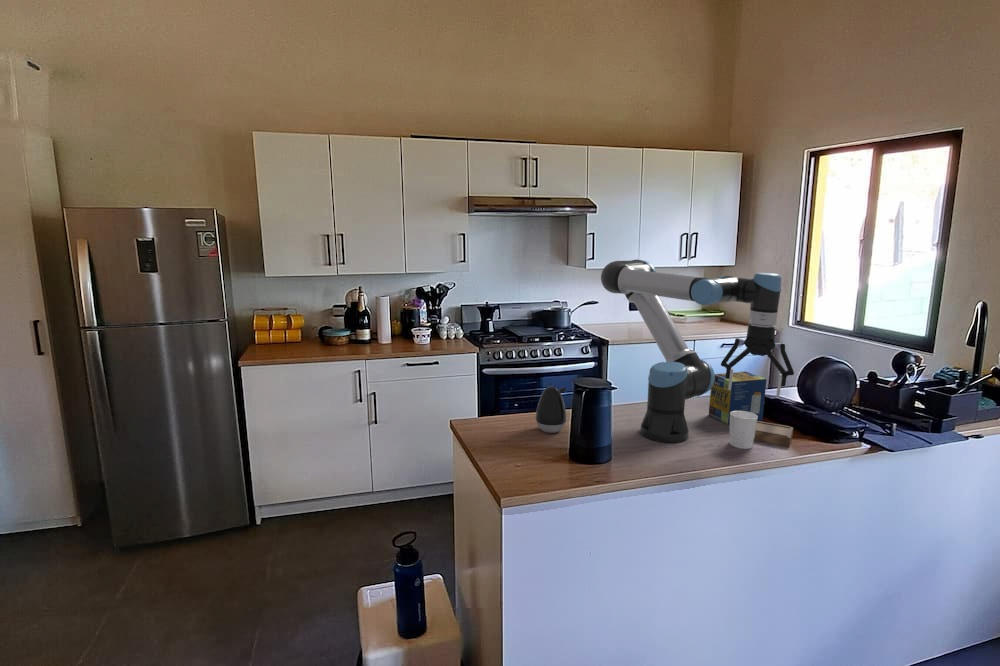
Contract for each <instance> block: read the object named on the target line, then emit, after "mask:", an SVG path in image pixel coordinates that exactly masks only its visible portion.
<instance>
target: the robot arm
mask: <svg viewBox="0 0 1000 666" xmlns="http://www.w3.org/2000/svg"><path fill="white" fill-rule="evenodd" d="M600 281H601V284H602V287H603V288H604V289H605V290H606V291H607V292H609V293H611V294H623V295H624V296H625V298H626V299H627V301H628V302H629V303H631V304H634V305H635V307H636V308H637V311H638V313H639V314H640V317H641V318H642V320H643V321H644V323H645V325H646V327H647V328H648V330H649V333H650V334H651V336H652V337H653V338H652V339H654V341H655V343H656V345H657V348H658V349H659V350H660V352H661V354H662V356H663V357H664V359H665V362H664V361H661V362H658V363H655V364H653V365H652V366H650V369H649V372H648V373H649V374H648V379H647V380H648V385H647V387H648V388H647V406H646V407H647V408H646V412H645V414H644V417H643V419H642V421H641V424H640V431H639V432H640V434H641V435H642V436H643V437H644V438H647V439H649V440H652V441H656V442H662V443H663V442H664V443H679V442H684V441H687V439H688V438H689V428H688V427H689V426H688V424H687V420H686V416H685V407H686V406H685V404H686V400H688V399H692V398H695V397H700V396H702V395H704V394H706V393H708V392H709V391H711V388H712V386H713V384H714V381H715V374H716V373H715V370H714V368H713V367H712V365H710V363H709V362H708V361H705V360H703V359H701V358H700V357H699V355H698V353H697V352H696V351H694V350H691V349H690V348H689V347H688V345H687V344H686V341H685V340H684V338H683V336H682V334H681V333H680V331H679V330H678V328H677V326H676V323H675V322H674V320H673V319H672V317H671V316H670V314H669V312H668V309H666V307H665V305H664V303H663V301H662V299H661V298H669V299H677V300H681V301H682V300H683V301H690V302H694V303H697V304H698V305H701V306H712V305H716V304H723V303H731V302H736V303H737V302H738V303H744V304H750V309H749V317H748V323H749V324H748V325H747V330H746V331H747V332H746V338H745V339H742V338H740V337H738V336H737V337H736V338H735V340H734V344H733V345H732V346H731V348H730V350H729V351H728V352H727V354H726V355H725V356H724V358H723V359H722V361H721V362H720V366H721V367H724V368H725V369H726V370H725V373H726V379H729V386H728V390H731V386H732V377H733V373H734V368H733V367H735V366H736V365H737V364H738V363H739V362H741V361H742V360H743V359H744V358H746V356H748V355H749V354H751V355H752V356H761V357H765V356H767V357H768V358H769V360H770V361H771V362H772V364H774V366H775V368H777V370H778V371H779V373H780V374H778V382H777V389H776V390H777V391H776V398H780V396H781V395H780V394H781V388H782V387H785V386H786V382H787V377H788V376H794V374H795V371H794V369H793V366H792V364H791V362H790V359H789V356H788V354H787V352H786V343H785V342H775V336H776V327H775V326H776V325H777V319H778V314H779V313H778V312H779V304H780V298H781V292H782V276H781V274H778V273H771V272H756V273H755V274H754V275H753V277H752V278H748V277H739V276H732V275H718V277H716V278H710V277H709V278H708V277H702V276H701V277H700V276H694V275H693V276H691V275H683V274H674V273H665V272H658V271H657V270H656V268H655V267H654V265H652V264H651V262H649V261H646V260H642V259H631V260H614V261H611V262H609V263H608V264H606V265H605V266H604V267H603V269H602V270H601V274H600ZM660 297H661V298H660ZM743 344H744V345H745V347H746V348H745V349H744V350H743V351H742V352H741V353H739V354H738V355H737V356H735V358H733V359H732V360H731V361H730V359H731V357H733V354H734V353H735V352H736V350H737V349H738V347H740V346H742V345H743ZM775 348H777V351H780V354H781V357H782V359H783V361H784V364H785V367H786V369H787V370H786V369H785V368H784V366H783V365H782V364H781V363H780V361H779V360H778V359H777V357H776V356H775V355H774V353H773V352H772V350H774V349H775ZM729 361H730V362H729Z"/></svg>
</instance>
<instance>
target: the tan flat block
mask: <svg viewBox="0 0 1000 666" xmlns="http://www.w3.org/2000/svg"><path fill="white" fill-rule="evenodd" d="M793 433H794V427H792V426H790V425H784V424H778V423H772V422H766V421H762V420H760V421H757V425H756V432H755V437H754V441H755V442H761V443H766V444H767V443H768V444H771V445H777V446H782V447H787V448H790V445H791V442H792V440H793Z"/></svg>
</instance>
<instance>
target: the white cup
mask: <svg viewBox="0 0 1000 666" xmlns="http://www.w3.org/2000/svg"><path fill="white" fill-rule="evenodd" d="M757 418H758V416H757V415H756V414H754V413H751V412H747V411H732V412H730V424H729V428H728V429H729V440H728V441H729V442H728V443H729V445H730V446H732V447H734V448H737V449H740V450H748V449H749V450H750V449H752V448H754V447H753V446H754V441H755V440H754V437H755V432H756V425H757Z"/></svg>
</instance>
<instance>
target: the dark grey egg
mask: <svg viewBox="0 0 1000 666" xmlns="http://www.w3.org/2000/svg"><path fill="white" fill-rule="evenodd" d="M566 390H567V388H566V387H562V388H560V389H558V388H557V387H555V386H552V385H550V386H547V387H545V388H544V390H543V391H542V393H541V396H540V398H539V400H538V403H537V407H536V411H535V421H536V424H537V427H538V428H539V429H540V430H541V431H542V432H544V433H548V434H554V433H558V432H560V431H562V430H563V428H564V427H565V426H566V425H565V424H566V422H567V412H566V406H565V401H564V399H563V396H562V393H564V392H566Z"/></svg>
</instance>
